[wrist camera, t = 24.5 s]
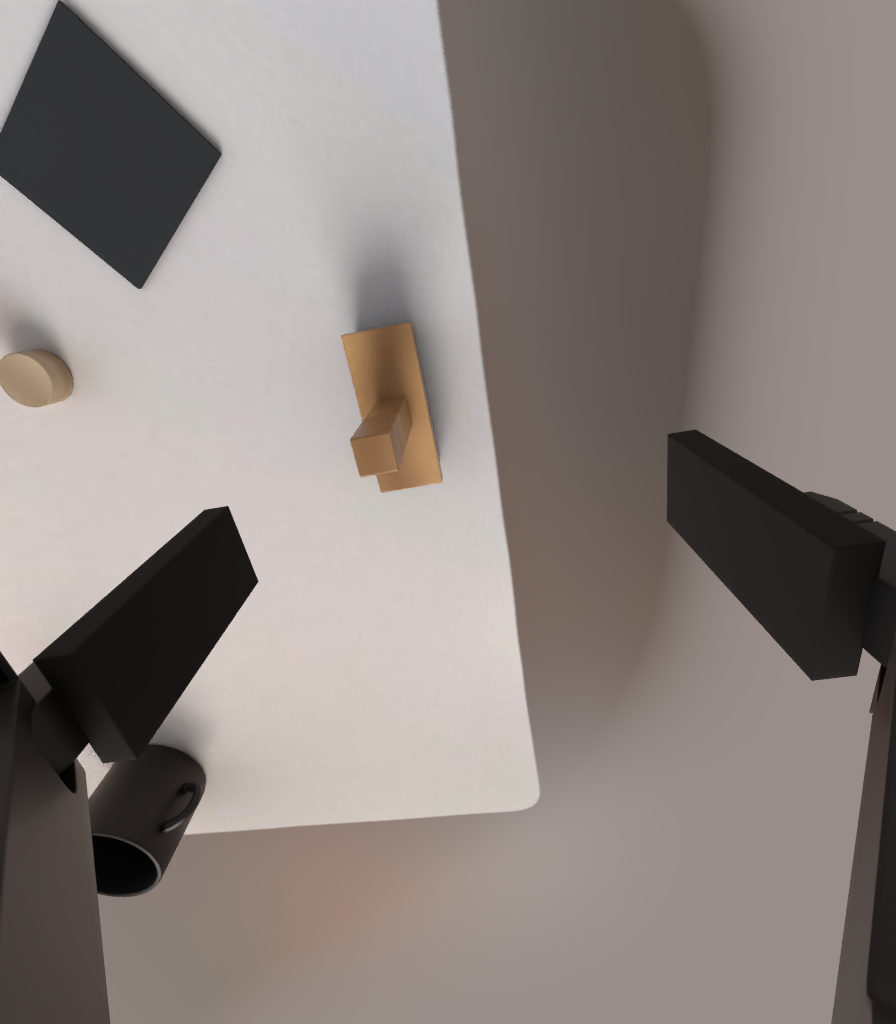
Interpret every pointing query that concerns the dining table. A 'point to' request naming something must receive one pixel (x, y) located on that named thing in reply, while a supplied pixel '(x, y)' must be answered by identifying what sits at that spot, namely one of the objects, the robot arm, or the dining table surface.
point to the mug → (142, 818)
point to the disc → (35, 378)
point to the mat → (102, 149)
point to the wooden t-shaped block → (391, 409)
